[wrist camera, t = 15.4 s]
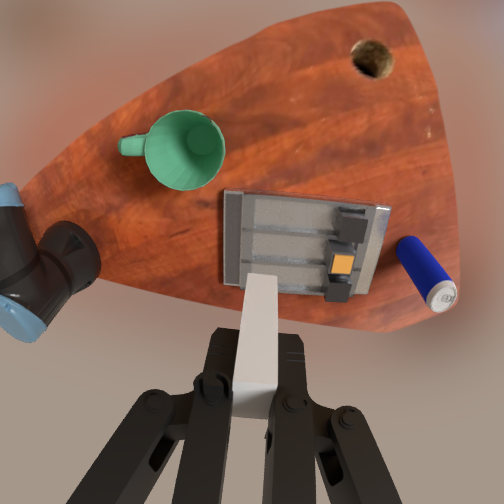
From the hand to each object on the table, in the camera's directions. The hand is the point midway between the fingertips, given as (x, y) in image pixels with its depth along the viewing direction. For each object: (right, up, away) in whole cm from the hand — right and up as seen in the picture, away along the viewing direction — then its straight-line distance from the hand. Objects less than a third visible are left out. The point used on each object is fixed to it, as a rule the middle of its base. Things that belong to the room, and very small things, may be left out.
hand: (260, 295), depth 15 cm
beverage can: (+27, +3, +30) cm, 41 cm away
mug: (-10, +19, +25) cm, 33 cm away
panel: (+8, +4, +32) cm, 33 cm away
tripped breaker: (+13, +2, +30) cm, 33 cm away
